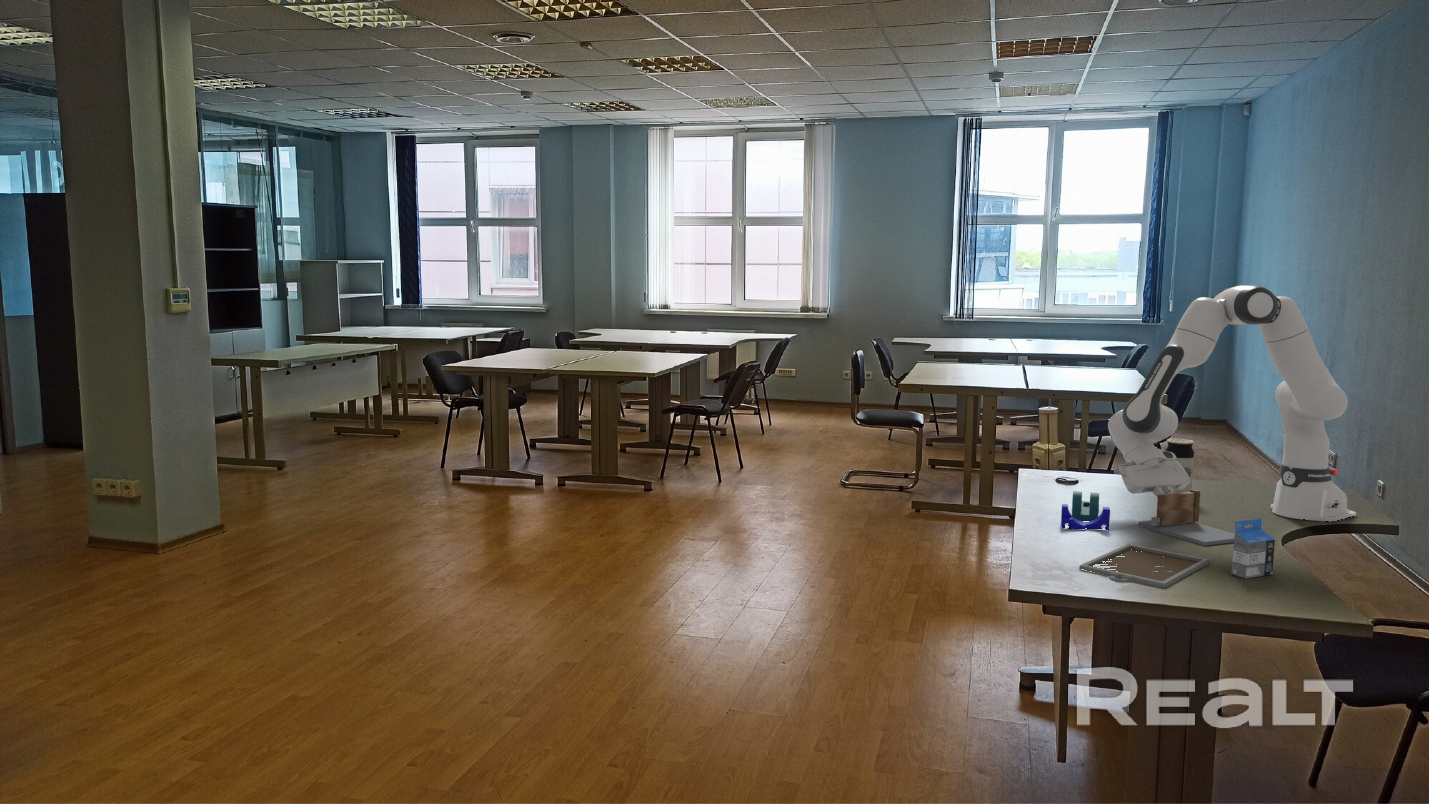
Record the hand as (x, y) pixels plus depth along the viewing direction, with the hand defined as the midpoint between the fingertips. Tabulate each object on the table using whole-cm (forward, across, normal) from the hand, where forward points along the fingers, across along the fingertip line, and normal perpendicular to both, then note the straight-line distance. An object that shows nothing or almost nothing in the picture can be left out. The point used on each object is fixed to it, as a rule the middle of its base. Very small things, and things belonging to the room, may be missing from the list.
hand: (1169, 502), depth 268 cm
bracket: (-6, -16, +15) cm, 22 cm away
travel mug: (-12, +26, +20) cm, 35 cm away
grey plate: (+12, -4, -4) cm, 13 cm away
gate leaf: (+7, -4, -1) cm, 8 cm away
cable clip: (+2, -27, +6) cm, 28 cm away
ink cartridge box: (+35, -21, -27) cm, 49 cm away
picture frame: (+26, -40, -17) cm, 51 cm away
